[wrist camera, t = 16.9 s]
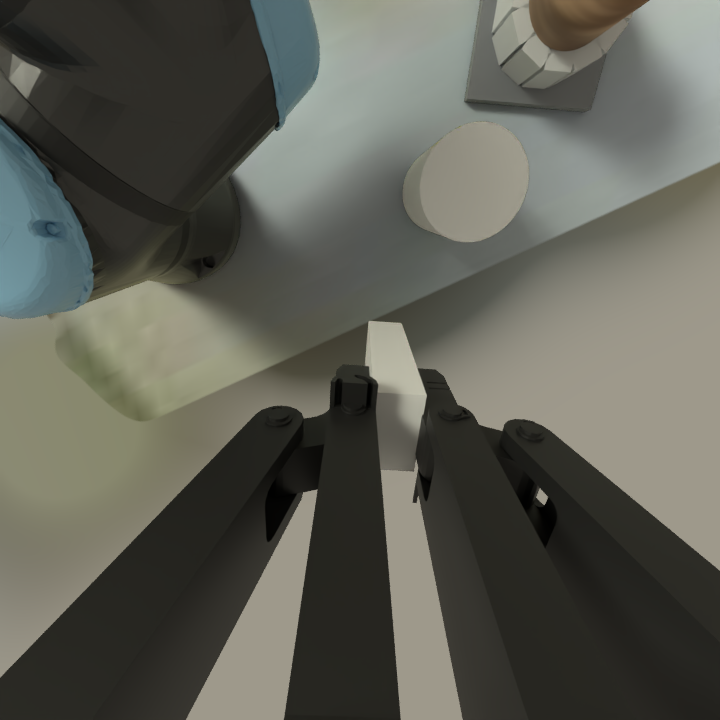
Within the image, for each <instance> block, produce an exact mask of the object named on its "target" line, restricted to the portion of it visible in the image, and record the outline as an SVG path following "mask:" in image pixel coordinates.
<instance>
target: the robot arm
mask: <svg viewBox="0 0 720 720" xmlns="http://www.w3.org/2000/svg"><path fill="white" fill-rule="evenodd" d="M319 48H320V46H319V39H318V33H317V29H316V24H315V20H314V17H313V13H312V10H311V6H310V3H309V0H0V316H2V317H8V318H12V319H24V318H34V317H39V316H44V315H48V314H52V313H57V312H67V311H70V310H75V309H76V308H78V307H79V306H81V305H83V304H85V303H87V302H90V301H92V300H95V299H98V298H101V297H103V296H106V295H109V294H112V293H114V292H117V291H120V290H123V289H125V288H128V287H131V286H133V285H136V284H139V283H142V282H144V281H147V280H150V281H155V282H160V283H166V284H185V283H191V282H194V281H198V280H200V279H203V278H205V277H207V276H209V275H211V274H213V273H215V272H216V271H217V270H219V269H220V268H221V267H222V266H223V265H224V264H225V263H226V262H227V261H228V260H229V258H230V257H231V255H232V253H233V252H234V249H235V247H236V245H237V242H238V238H239V233H240V209H239V204H238V199H237V196H236V193H235V190H234V188H233V185H232V183H231V181H230V179H229V176H230V175H231V174H232V173H233V172H234V171H235V170H236V169H237V168H238V167H239V166H240V165H241V164H242V163H243V162H244V161H245V159H246V158H247V157H248V156H249V155H250V154H251V153H252V152H253V151H254V150H255V149H256V148H257V147H258V146H259V145H260V144H261V143H262V142H263V141H264V140H265V139H266V138H267V136H268V135H269V134H270V133H271V132H272V131H273V130H274V129H275V130H276V131H278V130H279V129H280V128H281V127H282V126H283V125H284V123H285V119H286V116H287V115H288V114H289V113H290V112H291V111H292V109H293V108H294V107H295V106H296V105H297V104H298V102H299V101H300V100H301V99H302V98H303V97H304V96H305V94H306V93H307V92H308V91H309V90H310V88H311V87H312V86H313V84H314V82H315V80H316V78H317V75H318V69H319V61H320V57H319V56H320V51H319ZM416 459H417V464H418V473H417V479H416V485H415V490H414V496H413V503H416V502H417V497H418V496H419V499H420V504H421V510H422V515H423V520H424V525H425V530H426V535H427V540H428V545H429V550H430V555H431V560H432V565H433V571H434V575H435V581H436V586H437V591H438V596H439V601H440V606H441V611H442V616H443V621H444V626H445V631H446V636H447V642H448V647H449V651H450V656H451V662H452V667H453V672H454V676H455V682H456V687H457V692H458V697H459V702H460V707H461V712H462V718H463V720H720V571H719V570H718V569H717V568H716V567H715V566H713V565H712V564H711V563H710V562H708V561H707V560H706V559H705V558H703V557H702V556H701V555H700V554H699V553H697V552H696V551H695V550H694V549H693V548H691V547H690V546H689V545H688V544H686V543H685V542H684V541H683V540H682V539H680V538H679V537H678V536H677V535H676V534H675V533H673V532H672V531H671V530H670V529H668V528H667V527H666V526H665V525H664V524H662V523H661V522H660V521H659V520H657V519H656V518H655V517H654V516H653V515H651V514H650V513H649V512H648V511H646V510H645V509H644V508H643V507H642V506H641V505H639V504H638V503H637V502H636V501H635V500H633V499H632V498H631V497H630V496H628V495H627V494H626V493H625V492H623V491H622V490H621V489H620V488H619V487H618V486H616V485H615V484H614V483H613V482H611V481H610V480H609V479H608V478H607V477H605V476H604V475H603V474H602V473H601V472H599V471H598V470H597V469H596V468H594V467H593V466H592V465H591V464H589V463H588V462H587V461H586V460H585V459H584V458H582V457H581V456H580V455H579V454H577V453H576V452H575V451H574V450H573V449H571V448H570V447H569V446H568V445H567V444H565V443H564V442H563V441H562V440H561V439H559V438H558V437H557V436H556V435H555V434H553V433H552V432H551V431H550V430H548V429H546V428H545V427H543V426H542V425H539V424H537V423H535V422H533V421H528V420H524V419H523V420H520V419H514V420H510V421H508V422H507V423H505V425H504V428H503V431H500V430H496V429H492V428H487V427H484V426H481V425H479V424H478V422H477V420H476V419H475V417H474V415H473V414H472V413H471V412H470V411H469V410H467V409H466V408H464V407H462V406H459V405H457V403H456V400H455V398H454V396H453V394H452V392H451V390H450V388H449V386H448V385H447V382H446V380H445V378H444V376H443V375H441V374H440V373H439V372H438V371H436V370H432V369H418V368H417V366H416V363H415V361H414V357H413V354H412V352H411V349H410V346H409V343H408V340H407V337H406V334H405V332H404V329H403V326H402V324H401V323H392V322H378V321H369V322H368V334H367V346H366V358H365V366H357V365H342V366H341V367H340V368H339V369H338V370H337V372H336V376H335V377H334V378H333V379H332V381H331V390H330V409H329V410H328V411H327V412H326V413H324V414H322V415H319V416H317V417H312V418H305V419H304V418H303V416H302V413H301V412H299V411H298V410H297V409H294V408H292V407H288V406H273V407H269V408H266V409H263V410H261V411H260V412H258V413H257V414H256V415H255V416H254V417H253V418H252V419H251V420H250V421H249V422H248V423H247V424H246V425H245V426H244V427H243V428H242V429H241V430H240V431H239V432H238V433H237V434H236V435H235V436H234V438H232V439H231V440H230V442H228V444H227V445H226V446H225V447H224V448H223V449H222V450H221V451H220V452H219V453H218V454H217V455H216V456H215V457H214V458H213V459H212V460H211V461H210V462H209V463H208V464H207V465H206V466H205V467H204V468H203V469H202V470H201V471H200V473H198V474H197V475H196V477H195V478H194V479H193V480H192V481H191V482H190V483H189V484H188V485H187V486H186V487H185V488H184V489H183V490H182V491H181V492H180V493H179V494H178V495H177V496H176V497H175V498H174V499H173V500H172V501H171V502H170V503H169V505H167V506H166V507H165V509H163V511H162V512H161V513H160V514H159V515H158V516H157V517H156V518H155V519H154V520H153V521H152V522H151V523H150V524H149V525H148V526H147V527H146V528H145V529H144V530H143V531H142V532H141V533H140V534H139V535H138V536H137V537H136V538H135V539H134V540H133V541H132V542H131V544H130V545H129V546H128V547H127V548H126V549H125V550H124V551H123V552H122V553H121V554H120V555H119V556H118V557H117V558H116V559H115V560H114V561H113V562H112V563H111V564H110V565H109V566H108V567H107V568H106V569H105V570H104V571H103V572H102V574H100V575H99V577H98V578H97V579H96V580H95V581H94V582H93V583H92V584H91V585H90V586H89V587H88V588H87V589H86V590H85V591H84V592H83V593H82V594H81V595H80V596H79V597H78V598H77V599H76V600H75V601H74V602H73V603H72V604H71V605H70V607H69V608H67V610H66V611H65V612H64V613H63V614H62V615H61V616H60V617H59V618H58V619H57V620H56V621H55V622H54V623H53V624H52V625H51V626H50V627H49V628H48V629H47V630H46V631H45V632H44V633H43V634H42V635H41V636H40V637H39V638H38V640H36V642H35V643H34V644H33V645H32V646H31V647H30V648H29V649H28V650H27V651H26V652H25V653H24V654H23V655H22V656H21V657H20V658H19V659H18V660H17V661H16V662H15V663H14V664H13V665H12V666H11V667H10V668H9V669H8V670H7V671H6V672H5V674H4V675H3V676H2V677H1V678H0V720H186V718H187V716H188V714H189V712H190V711H191V709H192V707H193V705H194V703H195V701H196V699H197V697H198V695H199V693H200V691H201V689H202V688H203V686H204V684H205V682H206V680H207V678H208V676H209V674H210V672H211V670H212V669H213V667H214V665H215V663H216V661H217V659H218V657H219V655H220V653H221V651H222V649H223V647H224V646H225V644H226V641H227V640H228V638H229V636H230V634H231V632H232V630H233V628H234V627H235V625H236V623H237V621H238V619H239V617H240V615H241V613H242V611H243V609H244V607H245V606H246V604H247V602H248V600H249V598H250V596H251V594H252V592H253V590H254V588H255V586H256V584H257V583H258V581H259V579H260V577H261V575H262V573H263V571H264V569H265V567H266V566H267V564H268V562H269V560H270V558H271V556H272V554H273V552H274V550H275V548H276V546H277V545H278V543H279V541H280V539H281V537H282V535H283V533H284V531H285V529H286V527H287V525H288V523H289V521H290V520H291V518H292V516H293V514H294V512H295V510H296V508H297V506H298V504H299V503H300V501H301V498H302V494H303V492H307V491H311V490H316V489H318V491H317V498H316V505H315V512H314V519H313V525H312V532H311V539H310V546H309V554H308V560H307V566H306V573H305V581H304V587H303V594H302V601H301V608H300V614H299V622H298V628H297V635H296V642H295V649H294V656H293V663H292V669H291V676H290V683H289V690H288V696H287V703H286V710H285V717H284V720H401V719H400V706H399V695H398V682H397V670H396V656H395V644H394V632H393V619H392V607H391V594H390V582H389V569H388V558H387V545H386V532H385V521H384V508H383V495H382V483H381V471H380V470H398V471H414V467H415V461H416ZM539 488H541V490H542V491H543V492H544V493H545V494H546V495H547V496H548V499H547V502H546V504H545V505H543V504H542V503H541V502H540V501H539V500H538V499H537V498H536V496H537V493H538V491H539Z"/></svg>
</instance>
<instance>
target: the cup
mask: <svg viewBox="0 0 720 720" xmlns="http://www.w3.org/2000/svg"><path fill="white" fill-rule="evenodd" d="M528 181H529V167H528V161H527V157H526V153H525V151H524V149H523V147H522V145H521V143H520V142H519V140H518V139H517V138H516V137H515V135H514V134H513V133H511V132H510V131H509V130H508V129H506V128H504V127H503V126H501V125H498V124H495V123H492V122H484V121H480V122H472V123H467V124H464V125H462V126H459V127H457V128H455V129H454V130H452V131H451V132H449V133H448V134H447V135H445V136H444V137H443V138H442V139H440V140H439V141H438V142H437V143H436V144H434V145H433V146H432V147H431V148H429V149H428V150H427V151H426V152H425V153H423V154H422V155H421V156H420V157H419V158H417V159H416V160H415V162H414V163H413V164H412V165H411V167H410V168H409V170H408V172H407V174H406V177H405V180H404V184H403V191H402V195H403V203H404V207H405V210H406V212H407V214H408V216H409V217H410V218H411V220H412V221H413V222H414V223H415V224H416V225H418V226H419V227H421V228H423V229H425V230H427V231H430V232H433V233H435V234H438V235H441V236H443V237H446V238H449V239H452V240H455V241H459V242H476V241H480V240H484V239H486V238H489V237H491V236H493V235H495V234H496V233H498V232H499V231H501V230H502V229H503V228H504V227H506V226H507V225H508V224H509V223H510V221H511V220H512V219H513V218H514V217H515V215H516V214H517V212H518V211H519V209H520V207H521V205H522V203H523V201H524V198H525V195H526V192H527V188H528Z"/></svg>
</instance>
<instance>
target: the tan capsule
mask: <svg viewBox="0 0 720 720" xmlns="http://www.w3.org/2000/svg"><path fill="white" fill-rule="evenodd" d="M648 1H649V0H529V14H530V20H531V23H532V27H533V29H534V31H535V33H536V35H537V36H538V38H539V39H540V40H541V41H542V42H543V43H544V44H545V45H546V46H548V47H549V48H551V49H554V50H557V51H572V50H576V49H579V48H581V47H583V46H585V45H587V44H588V43H590V42H591V41H593V40H594V39H596V38H597V37H598V36H600V35H601V34H603V33H604V32H606V31H607V30H608V29H610V28H611V27H613V26H614V25H615V24H617V23H618V22H620V21H621V20H622V19H624V18H625V17H627V16H628V15H629V14H631V13H632V12H634V11H635V10H637V9H638V8H639V7H641V6H642V5H644V4H645V3H646V2H648Z"/></svg>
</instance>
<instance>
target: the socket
mask: <svg viewBox="0 0 720 720" xmlns="http://www.w3.org/2000/svg"><path fill="white" fill-rule="evenodd" d="M632 14H633V12H632V13H631V14H629V15H628V16H627V17H625V18H624V19H622V20H621V21H620V22H618V23H617V24H615V25H614V26H613V27H611V28H610V29H608V30H607V31H606V32H604V33H603V34H601V35H600V36H598V37H597V38H596V39H594V40H593V41H591V42H590V43H588V44H587V45H585V46H583V47H581V48H579V49H576V50H572V51H557V50H554V49H551V48H549V47H548V46H546V45H545V44H544V43H543V42H542V41H541V40H540V39H539V38H538V36H537V35H536V33H535V31H534V29H533V27H532V23H531V20H530V14H529V0H480V6H479V12H478V18H477V25H476V31H475V37H474V43H473V50H472V56H471V62H470V69H469V75H468V81H467V87H466V94H465V100H464V101H465V102H476V103H487V104H499V105H510V106H522V107H533V108H544V109H556V110H567V111H579V112H586V111H588V110H591V107H592V103H593V100H594V96H595V93H596V89H597V86H598V82H599V79H600V75H601V72H602V68H603V64H604V61H605V57H606V54H607V51H608V50H609V49H610V47H611V46H612V45H613V43H614V42H615V41H616V40H617V38H618V37H619V36H620V34H621V33H622V32H623V30H624V29H625V28H626V26H627V25H628V23H627V21H628V20H630V19H631V17H632Z"/></svg>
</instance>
